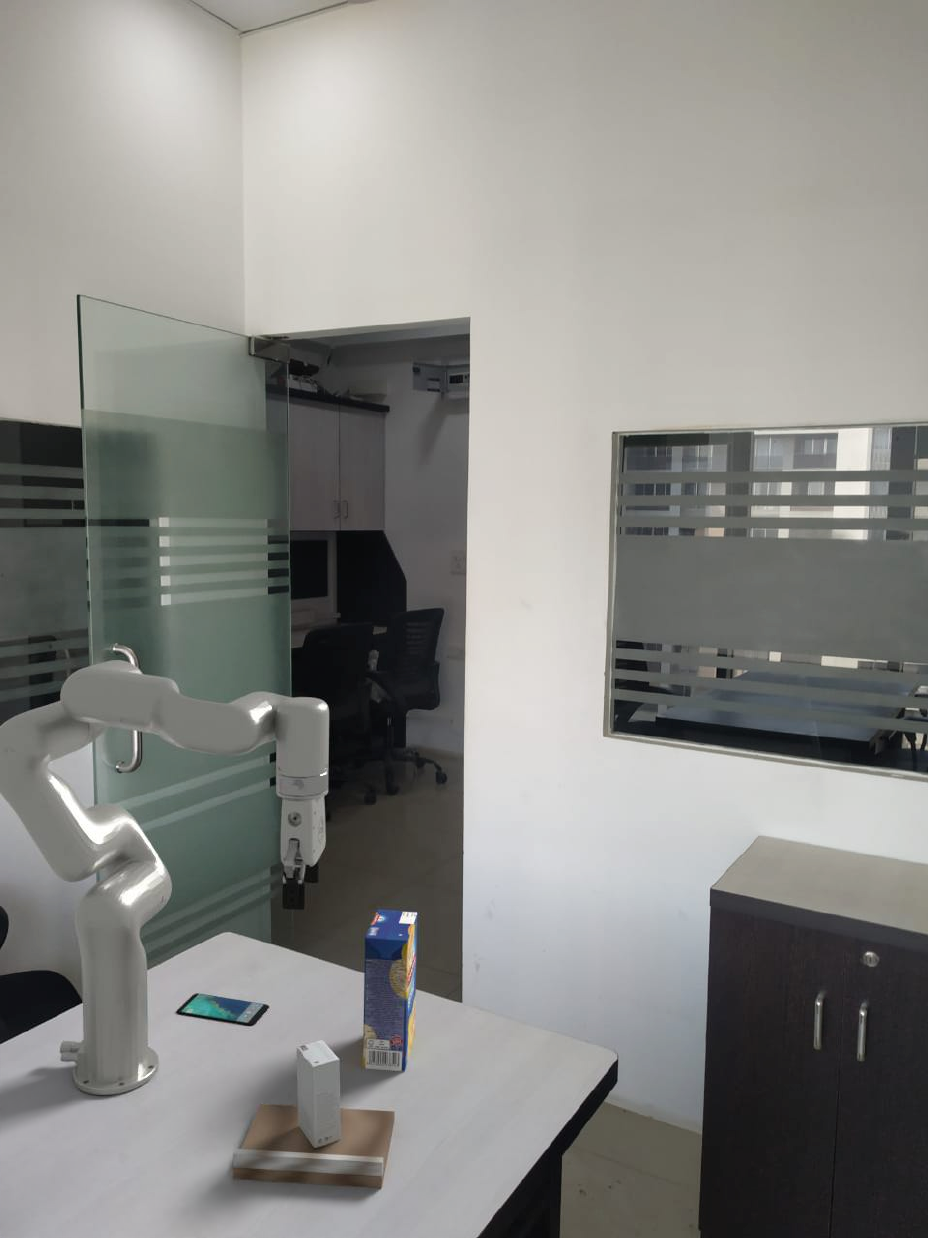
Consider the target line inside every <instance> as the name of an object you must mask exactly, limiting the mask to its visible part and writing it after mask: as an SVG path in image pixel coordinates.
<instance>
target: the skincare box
mask: <svg viewBox="0 0 928 1238" xmlns="http://www.w3.org/2000/svg"><path fill="white" fill-rule="evenodd" d="M340 1074H341V1073H340V1058H339V1057H338V1056H337V1055H336V1054H335V1053H334V1051H333V1050H332V1049H330V1047H329V1046H328V1045H327V1043H326V1042H325V1041H324V1040H323V1039H321V1040H317V1041H314V1042H311V1043H306V1044H304V1045H301V1046H298V1047H296V1078H297V1079H296V1080H297V1081H296V1083H297V1084H296V1085H297V1106H298V1125H299V1127H300V1128H301V1130H302V1131H303V1133H304V1134H305V1135H306V1137H307V1138H308V1140H309V1141H310V1143H311V1144H312V1145H313V1147H314V1148H317V1147H321V1146H324V1145H327V1144H330V1143H333V1142H335V1141H338V1140H340V1137H341V1126H340V1108H341V1083H340V1082H341V1081H340V1079H341V1078H340V1077H341V1076H340Z"/></svg>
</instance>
